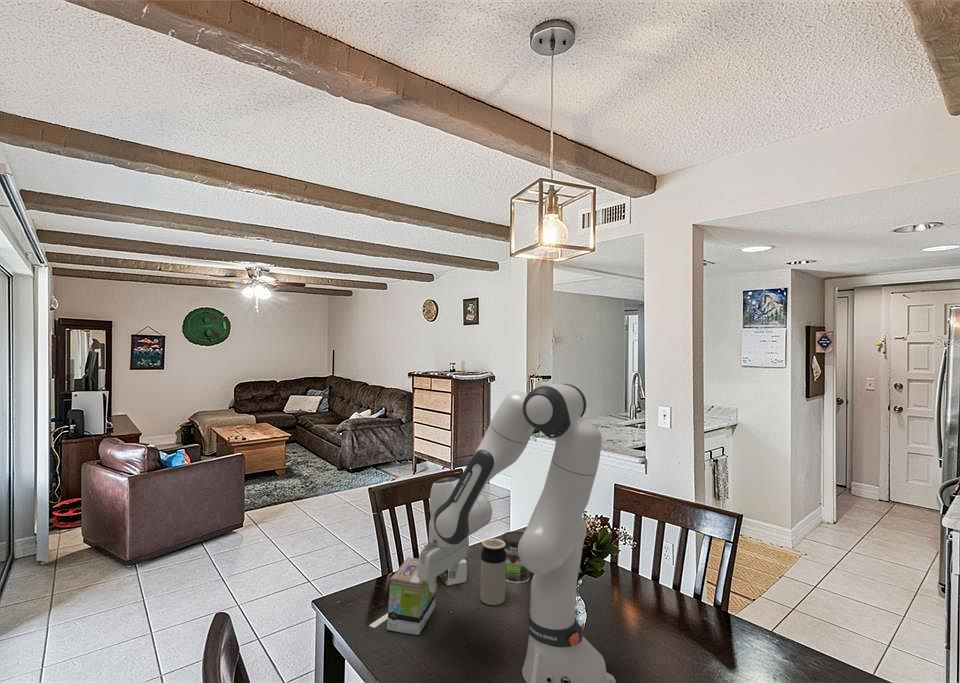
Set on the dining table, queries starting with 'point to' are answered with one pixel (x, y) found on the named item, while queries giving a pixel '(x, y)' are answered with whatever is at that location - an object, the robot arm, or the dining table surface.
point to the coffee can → (514, 559)
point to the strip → (379, 621)
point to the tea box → (409, 600)
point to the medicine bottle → (460, 574)
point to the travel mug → (493, 572)
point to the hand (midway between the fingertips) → (443, 584)
